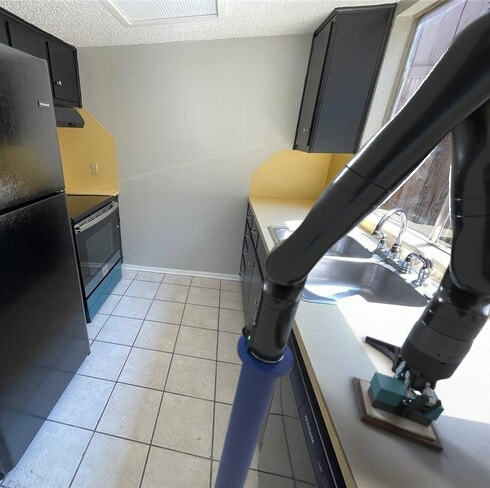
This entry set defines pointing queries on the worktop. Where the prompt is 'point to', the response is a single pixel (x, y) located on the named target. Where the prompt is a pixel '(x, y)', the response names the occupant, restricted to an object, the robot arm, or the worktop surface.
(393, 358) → the bracket
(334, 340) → the worktop surface
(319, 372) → the worktop surface
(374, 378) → the teal angular block
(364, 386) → the board
